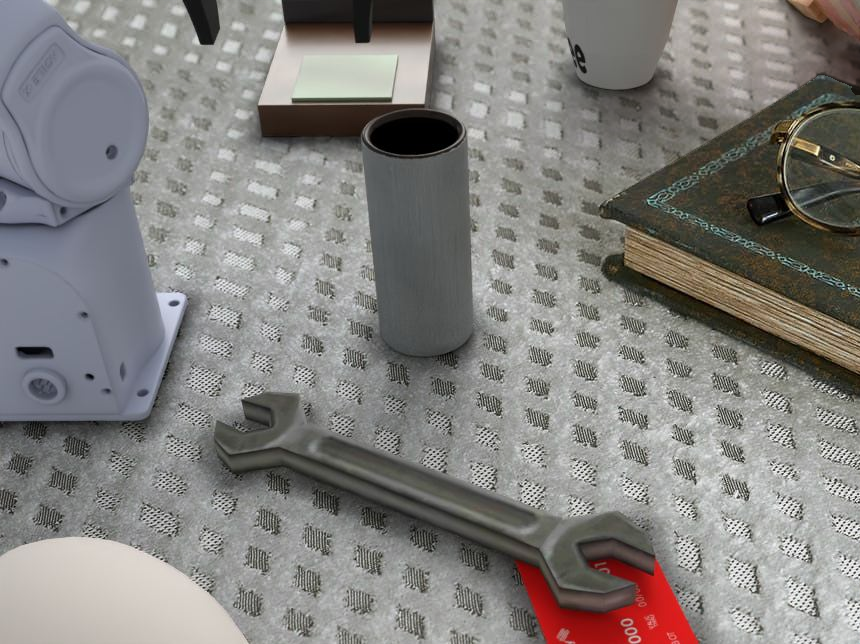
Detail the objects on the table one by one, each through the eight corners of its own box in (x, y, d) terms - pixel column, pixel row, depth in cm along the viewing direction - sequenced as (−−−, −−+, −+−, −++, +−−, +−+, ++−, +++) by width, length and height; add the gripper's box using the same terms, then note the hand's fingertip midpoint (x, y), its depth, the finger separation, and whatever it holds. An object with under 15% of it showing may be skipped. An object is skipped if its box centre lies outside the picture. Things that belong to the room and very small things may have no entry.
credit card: (512, 552, 47) (512, 551, 47) (639, 526, 48) (639, 525, 48) (577, 723, 41) (577, 722, 41) (721, 689, 42) (721, 688, 42)
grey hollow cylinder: (450, 294, 60) (441, 99, 53) (489, 342, 57) (484, 142, 50) (366, 317, 59) (345, 120, 52) (401, 368, 56) (383, 166, 49)
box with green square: (426, 135, 72) (423, 77, 70) (262, 136, 72) (252, 79, 70) (435, 45, 82) (433, -8, 79) (290, 46, 82) (283, -7, 79)
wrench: (615, 614, 43) (189, 439, 50) (615, 642, 44) (200, 467, 51) (673, 522, 45) (260, 369, 53) (671, 551, 47) (268, 397, 54)
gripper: (420, -306, 53) (434, 2, 62) (94, -302, 53) (157, 6, 62) (413, -271, 48) (430, 60, 57) (52, -266, 48) (128, 63, 57)
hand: (287, 36), depth 60 cm, fingers open, 7 cm apart
